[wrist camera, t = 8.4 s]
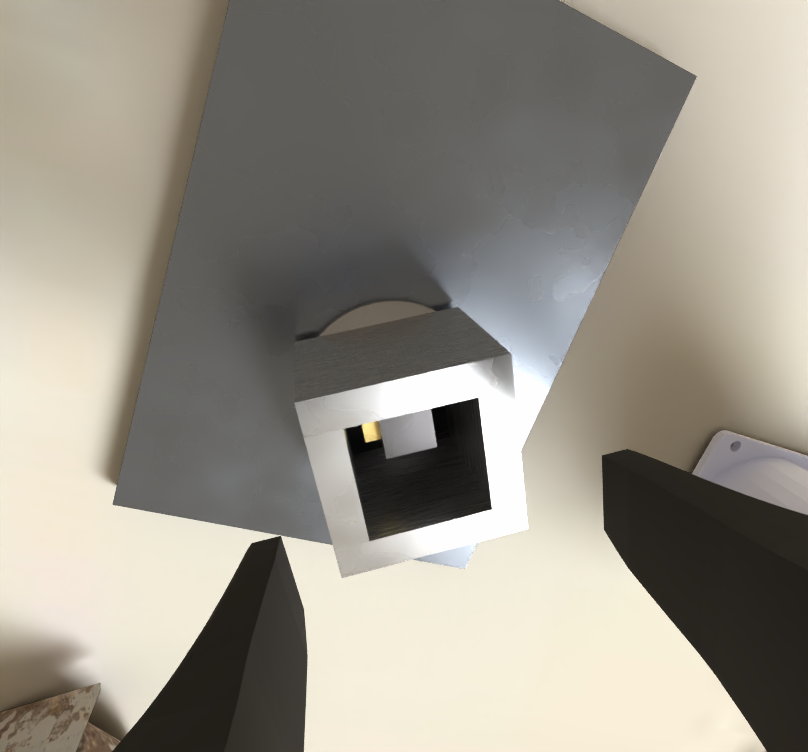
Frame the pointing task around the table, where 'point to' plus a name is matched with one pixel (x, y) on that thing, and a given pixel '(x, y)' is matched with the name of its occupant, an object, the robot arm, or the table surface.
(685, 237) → the table surface
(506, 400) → the collar
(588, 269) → the plate
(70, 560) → the table surface
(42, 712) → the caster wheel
